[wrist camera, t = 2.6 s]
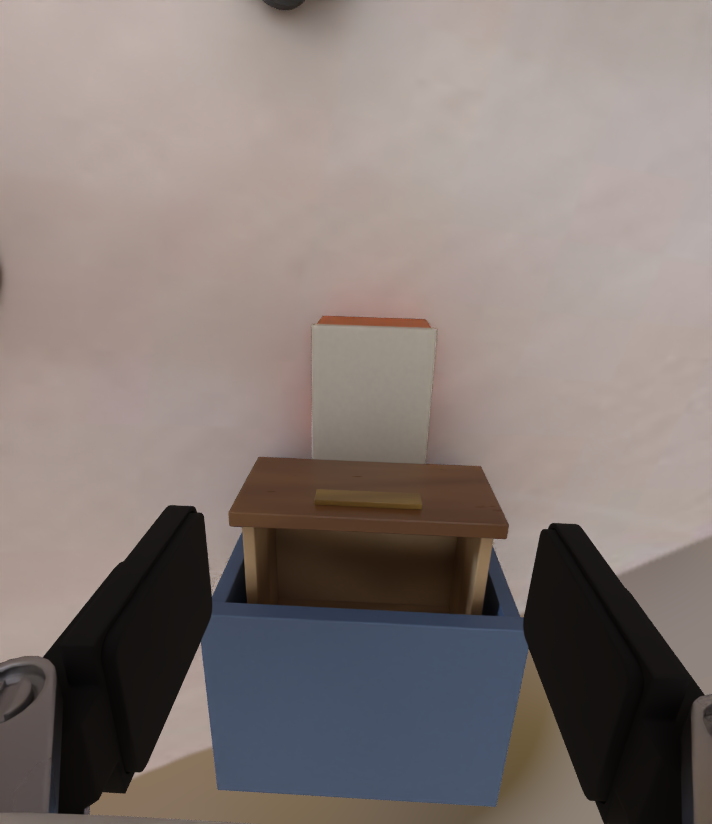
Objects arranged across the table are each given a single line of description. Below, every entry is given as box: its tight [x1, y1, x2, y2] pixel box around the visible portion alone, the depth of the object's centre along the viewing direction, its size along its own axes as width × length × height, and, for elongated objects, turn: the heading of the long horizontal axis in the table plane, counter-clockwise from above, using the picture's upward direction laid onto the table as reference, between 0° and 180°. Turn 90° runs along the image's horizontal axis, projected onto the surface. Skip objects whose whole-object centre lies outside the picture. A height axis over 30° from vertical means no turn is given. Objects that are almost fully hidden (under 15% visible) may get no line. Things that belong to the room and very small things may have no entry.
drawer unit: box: [201, 533, 529, 807], centre depth 31 cm, size 12×15×17 cm
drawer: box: [229, 457, 509, 615], centre depth 25 cm, size 10×13×6 cm
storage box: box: [311, 316, 437, 464], centre depth 33 cm, size 10×8×5 cm
